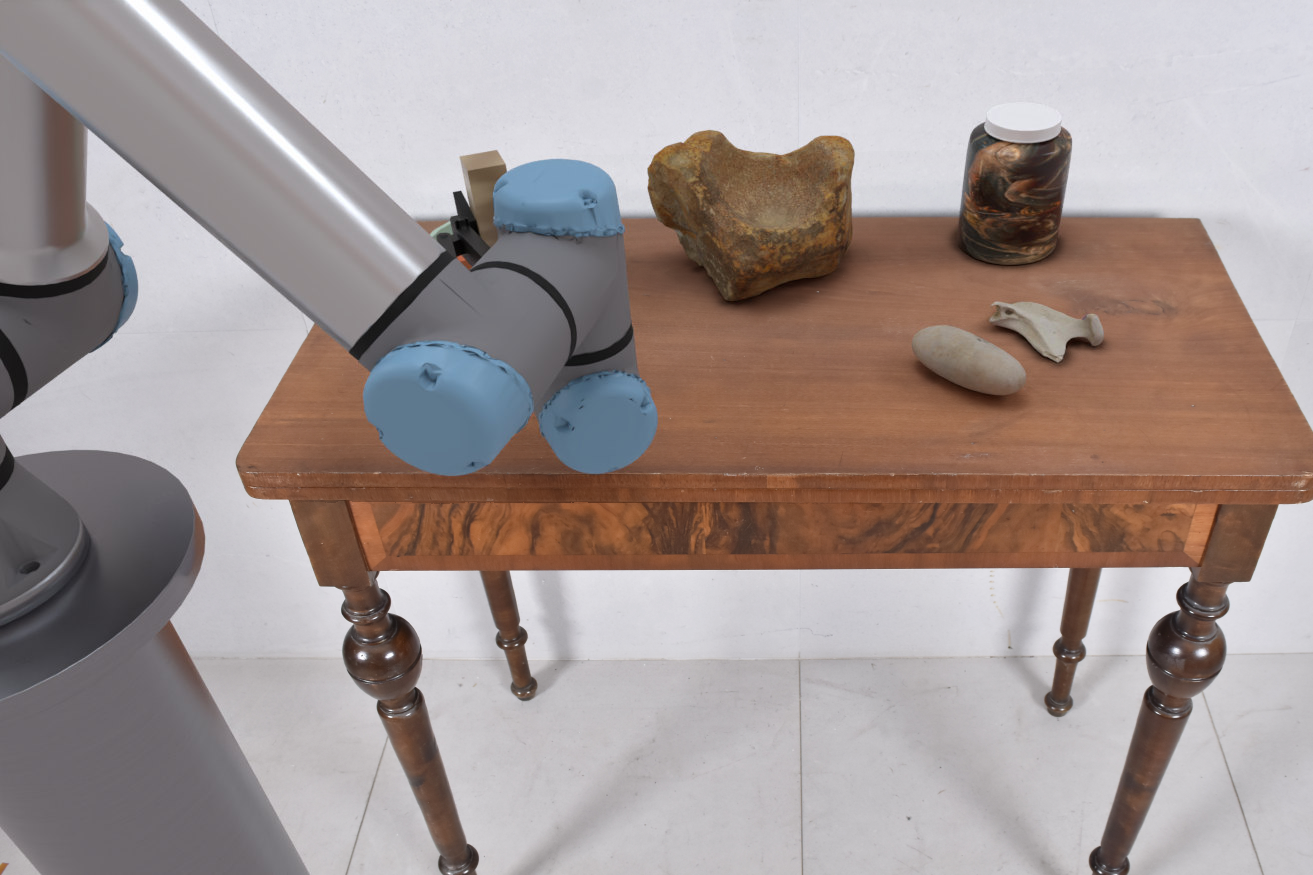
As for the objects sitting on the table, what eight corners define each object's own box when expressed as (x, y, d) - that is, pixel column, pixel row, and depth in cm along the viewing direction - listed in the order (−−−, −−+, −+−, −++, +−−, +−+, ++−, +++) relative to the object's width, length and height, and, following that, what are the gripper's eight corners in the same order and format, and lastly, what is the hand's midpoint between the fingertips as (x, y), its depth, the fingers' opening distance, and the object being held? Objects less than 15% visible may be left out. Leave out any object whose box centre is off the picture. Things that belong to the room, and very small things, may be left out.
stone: (928, 321, 108) (1040, 325, 101) (928, 384, 110) (1038, 391, 103) (898, 328, 104) (1013, 332, 97) (899, 392, 106) (1011, 401, 98)
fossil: (1068, 369, 106) (1074, 339, 104) (982, 327, 112) (986, 298, 110) (1108, 343, 110) (1115, 314, 107) (1022, 304, 116) (1027, 275, 113)
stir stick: (500, 338, 98) (467, 170, 88) (493, 321, 100) (459, 156, 90) (535, 330, 99) (505, 163, 89) (526, 314, 101) (497, 149, 91)
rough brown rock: (653, 326, 115) (646, 200, 105) (650, 242, 127) (644, 121, 116) (867, 319, 117) (881, 195, 106) (845, 237, 129) (856, 118, 118)
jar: (947, 221, 131) (960, 98, 121) (1042, 217, 131) (1062, 94, 122) (967, 268, 122) (982, 139, 112) (1068, 263, 122) (1092, 134, 113)
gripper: (450, 392, 81) (399, 257, 97) (654, 343, 85) (573, 222, 102) (428, 304, 76) (379, 178, 92) (646, 258, 81) (563, 145, 97)
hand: (481, 201), depth 97 cm, fingers closed on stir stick, 3 cm apart
